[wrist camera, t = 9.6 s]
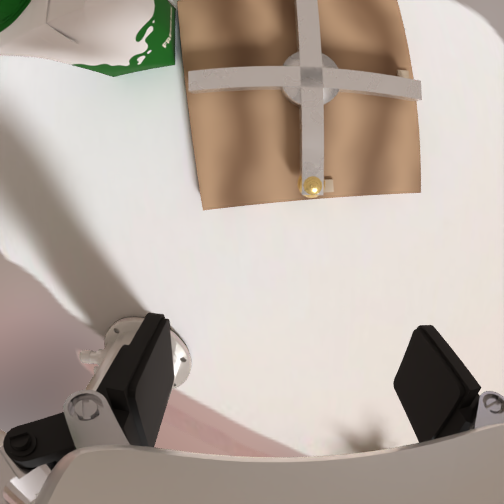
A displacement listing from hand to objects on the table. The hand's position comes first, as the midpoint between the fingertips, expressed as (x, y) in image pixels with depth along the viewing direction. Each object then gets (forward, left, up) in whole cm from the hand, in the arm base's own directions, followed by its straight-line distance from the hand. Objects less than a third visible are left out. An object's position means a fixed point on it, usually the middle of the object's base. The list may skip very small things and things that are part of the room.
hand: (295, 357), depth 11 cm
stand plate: (+4, +12, -22) cm, 25 cm away
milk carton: (-12, +20, -22) cm, 32 cm away
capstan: (+4, +12, -20) cm, 24 cm away
